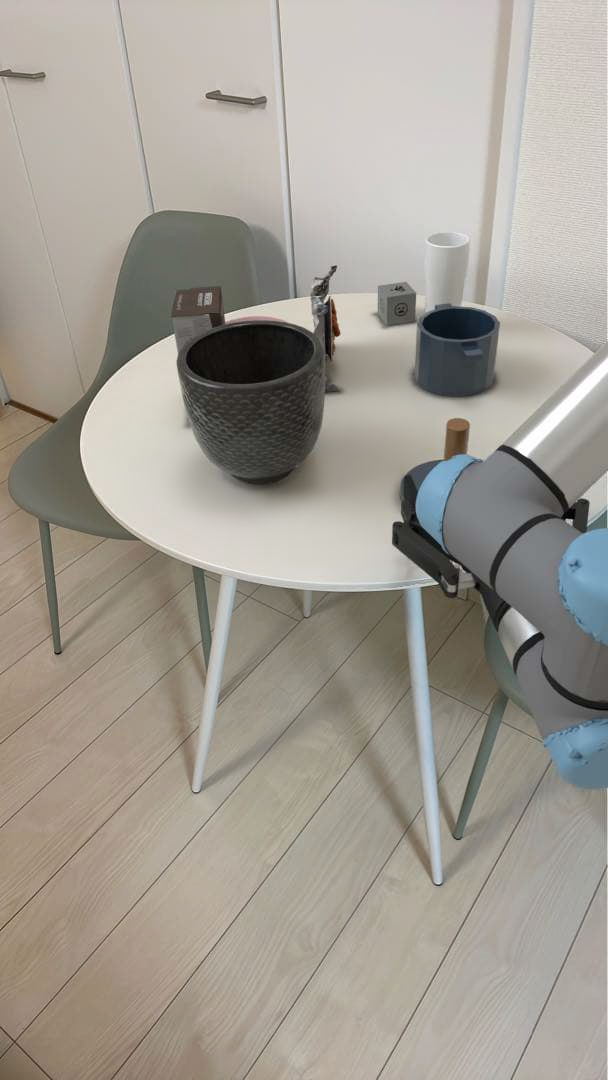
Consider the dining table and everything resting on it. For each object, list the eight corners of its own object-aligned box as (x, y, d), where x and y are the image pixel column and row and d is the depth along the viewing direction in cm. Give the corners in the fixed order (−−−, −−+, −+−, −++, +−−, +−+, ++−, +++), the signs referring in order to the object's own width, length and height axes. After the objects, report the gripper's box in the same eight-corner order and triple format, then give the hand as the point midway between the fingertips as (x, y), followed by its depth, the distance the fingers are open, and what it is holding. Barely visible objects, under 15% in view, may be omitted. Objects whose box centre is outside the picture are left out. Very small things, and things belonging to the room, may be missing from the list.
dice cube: (415, 321, 127) (416, 292, 124) (386, 326, 126) (387, 297, 123) (405, 309, 131) (406, 281, 127) (377, 314, 130) (377, 285, 127)
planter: (186, 443, 102) (165, 333, 92) (307, 418, 105) (301, 309, 95) (209, 518, 90) (188, 400, 79) (346, 488, 93) (344, 371, 82)
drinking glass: (441, 345, 120) (448, 250, 110) (411, 332, 124) (415, 239, 114) (470, 331, 123) (480, 238, 113) (440, 319, 127) (446, 228, 117)
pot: (474, 347, 119) (480, 295, 113) (509, 401, 106) (517, 345, 100) (403, 355, 118) (405, 303, 112) (430, 410, 105) (433, 354, 100)
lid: (486, 461, 95) (495, 390, 89) (519, 522, 86) (532, 448, 79) (390, 472, 95) (391, 401, 88) (412, 535, 85) (416, 461, 79)
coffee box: (234, 421, 106) (220, 312, 95) (189, 425, 106) (170, 317, 95) (234, 389, 113) (221, 284, 102) (191, 392, 113) (174, 288, 102)
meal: (343, 391, 110) (341, 306, 102) (314, 393, 111) (310, 307, 102) (339, 345, 122) (337, 264, 113) (312, 346, 122) (309, 266, 113)
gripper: (397, 663, 68) (356, 518, 84) (662, 628, 69) (572, 491, 86) (399, 605, 63) (355, 463, 79) (685, 569, 65) (584, 436, 81)
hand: (467, 477), depth 82 cm, fingers open, 13 cm apart
